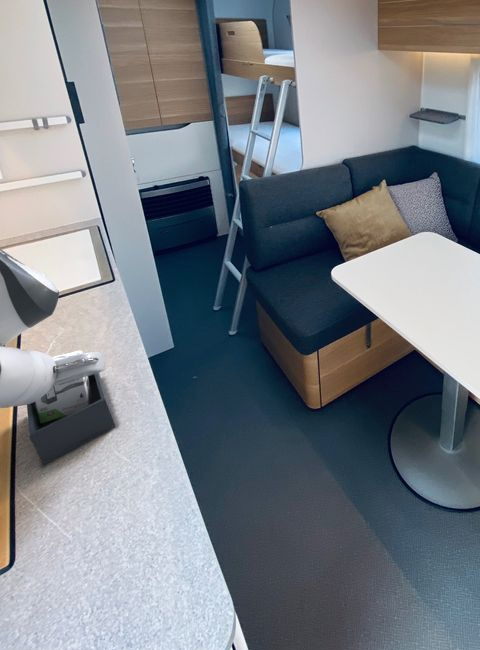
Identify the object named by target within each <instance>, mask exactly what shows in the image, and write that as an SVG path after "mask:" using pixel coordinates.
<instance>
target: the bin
mask: <svg viewBox="0 0 480 650" xmlns="http://www.w3.org/2000/svg"><path fill="white" fill-rule="evenodd" d="M88 379H89V384H90V389H91V395H92V396H91V403H90V405H88V406H86V407H84V408H82V409H80V410H78V411H76V412H74V413H72V414H70V415H68V416H64V417H61V418H58V419H54V420H51V421H48V422H45V423H40V420H39V415H38V411H37V406H36V402H33V403H30V404H27V405H26V411H27V422H28V435H29V439H30V441H31V442H32V444H33V447H34V448H35V450H36V452H37V454H38V456H39V458H40V460H41V462H42V464H43V465H46V464H48V463H51V462H52V461H54V460H56V459H58V458H61V456H64V455H65V454H67V453H69V452H71V451H72V450H75V449H76V448H78V447H80V446H82V445H85V444H86V443H88V442H90V441H91V440H93V439H95V438H97V437H99V436H101V435H102V434H105V433H106V432H108V431H110V430H112V429H115V428H116V422H115V419H114V416H113V413H112V409H111V407H110V403H109V399H108V396H107V393H106V390H105V386H104V382H103V379H102V377H101V374H100V373H96V374H93V375H90V376H88Z"/></svg>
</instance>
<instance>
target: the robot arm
mask: <svg viewBox="0 0 480 650" xmlns="http://www.w3.org/2000/svg"><path fill="white" fill-rule="evenodd" d="M59 297H60V291H59V290H58V288H57V286H56V285H55V283H54V282H53V281H52V280H51V279H50V278H49V277H48V276H47V275H45V274H44V273H42V272H41V271H38V270H35V269H34V268H31V267H30V266H28V265H26V264H25V263H23V262H21V261H19V260H18V259H16V258H15V257H13V256H12V255H10V254H9V253H8V252H6V251H4V250H3V249H1V248H0V409H7V408H13V407H23V406H27V404H30V403H33V402H35V401H37V400H38V399H40V398H41V397H43V396H44V395H45V394H46V393H47V392H48V391H49V390H50V388H51V387H52V386H55V385H58V384H62V383H65V382H69V381H72V380H76V379H79V378H83V377H86V376H90V375H93V374H96V373H99V374H100V373H102V372H104V371H105V370H106V357H105V354H104V352H101V351H90V352H83V353H82V354H78V355H74V356H70V357H67V358H63V359H59V360H55V361H54V360H53V358H52V357H53V356H51V355H49V354H48V353H46V352H43V351H38V350H32V349H26V348H25V349H24V348H19V347H14V346H6V345H8V344H9V343H10V342H11V341H13V340H14V339H15V338H17V337H18V336H20V335H21V334H22V333H24V332H25V331H27V330H28V329H31V328H33V327H34V326H36V325H38V324H40V323H42V321H44V320H46V319H48V318H49V317H51V316H52V315H53V314H54V312H55V310H56V308H57V306H58V301H59V299H60V298H59Z"/></svg>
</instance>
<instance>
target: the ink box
mask: <svg viewBox="0 0 480 650" xmlns="http://www.w3.org/2000/svg"><path fill="white" fill-rule="evenodd" d="M82 353H84V351H83V350H75V351H72V352H71V351H70V352H68V353H63V354H58V355H55V356H51V357H52V358H53V360H54V361H55V360H59V359H63V358H67V357H70V356H74V355H78V354H82ZM91 396H92V395H91V389H90V384H89V379H88V376H86V377H83V378H79V379H76V380H72V381H69V382H65V383H62V384H58V385H55V386H52V387H51V388H50V390H49V391H48V392H47V393H46V394H45V395H44V396H43V397H41V398H40V399H38V400H37V401H35V402H36V406H37V411H38V415H39V420H40V423H45V422H48V421H51V420H54V419H58V418H61V417H64V416H68V415H70V414H72V413H74V412H76V411H78V410H80V409H82V408H84V407H86V406H88V405H90V403H91Z"/></svg>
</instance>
